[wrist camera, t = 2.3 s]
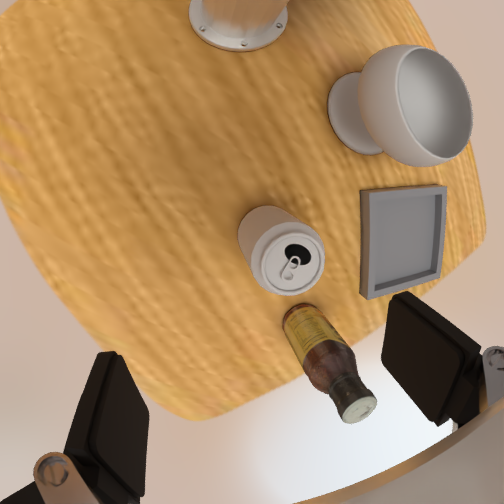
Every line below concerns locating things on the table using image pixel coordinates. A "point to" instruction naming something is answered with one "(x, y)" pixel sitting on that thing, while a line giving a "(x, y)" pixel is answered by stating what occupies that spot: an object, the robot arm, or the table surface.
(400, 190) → the tray
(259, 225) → the can
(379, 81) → the chalice
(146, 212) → the table surface
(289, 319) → the sauce bottle
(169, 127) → the table surface
